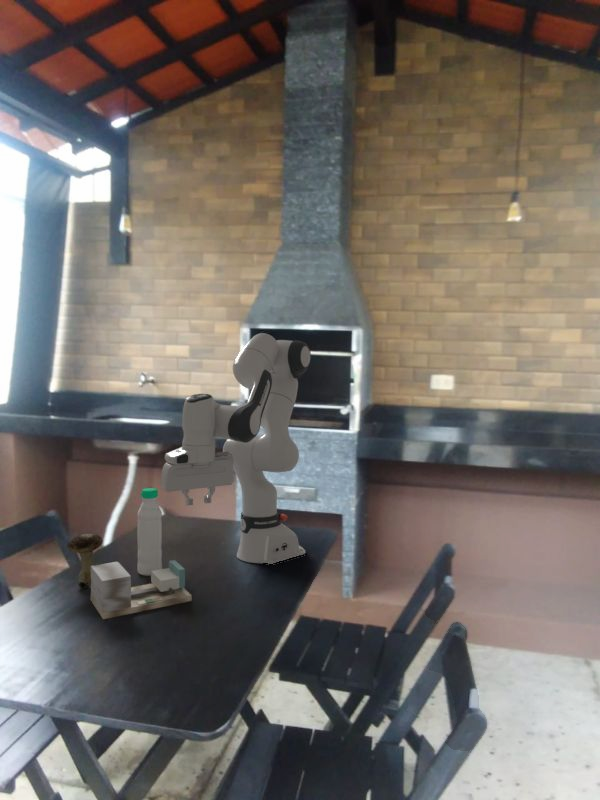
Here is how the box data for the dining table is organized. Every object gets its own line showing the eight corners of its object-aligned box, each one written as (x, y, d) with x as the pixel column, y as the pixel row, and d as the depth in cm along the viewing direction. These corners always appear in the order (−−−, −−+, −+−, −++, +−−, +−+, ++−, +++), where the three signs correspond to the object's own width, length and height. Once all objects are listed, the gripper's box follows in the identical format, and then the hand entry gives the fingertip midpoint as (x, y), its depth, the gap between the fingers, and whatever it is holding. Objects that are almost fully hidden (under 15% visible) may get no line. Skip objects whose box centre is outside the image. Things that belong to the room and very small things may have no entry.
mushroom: (108, 588, 172) (108, 535, 171) (78, 596, 166) (77, 541, 165) (93, 578, 179) (92, 527, 178) (63, 586, 173) (62, 533, 172)
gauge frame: (174, 584, 176) (174, 551, 175) (191, 600, 165) (191, 565, 164) (90, 600, 164) (90, 565, 163) (103, 619, 153) (102, 581, 152)
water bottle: (155, 577, 181) (155, 492, 179) (133, 575, 182) (132, 491, 180) (165, 569, 188) (165, 487, 186) (144, 566, 189) (143, 485, 187)
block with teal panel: (174, 577, 173) (174, 559, 173) (188, 590, 164) (188, 572, 164) (151, 581, 170) (151, 563, 169) (164, 595, 161) (164, 576, 160)
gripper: (228, 449, 178) (228, 497, 179) (159, 454, 167) (159, 505, 168) (238, 452, 172) (237, 502, 174) (167, 458, 162) (167, 511, 163)
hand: (198, 503), depth 171 cm, fingers open, 4 cm apart
